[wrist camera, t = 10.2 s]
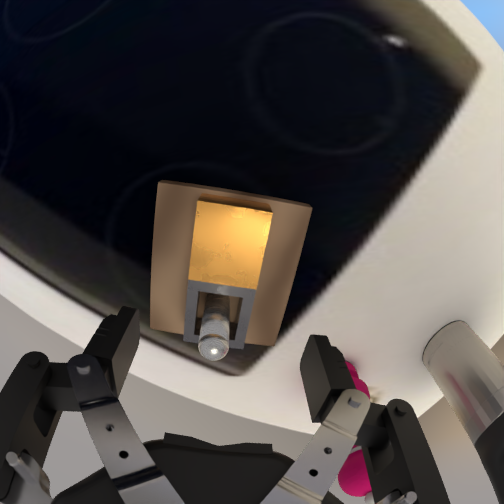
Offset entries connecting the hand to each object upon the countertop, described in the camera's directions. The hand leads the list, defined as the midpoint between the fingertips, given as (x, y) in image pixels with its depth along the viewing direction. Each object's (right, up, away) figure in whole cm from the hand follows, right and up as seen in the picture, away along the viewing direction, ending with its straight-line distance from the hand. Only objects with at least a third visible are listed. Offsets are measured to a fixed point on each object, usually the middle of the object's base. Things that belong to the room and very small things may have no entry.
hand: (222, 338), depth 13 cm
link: (-1, +2, +15) cm, 16 cm away
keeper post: (-2, -1, +17) cm, 17 cm away
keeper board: (-2, +2, +17) cm, 17 cm away
